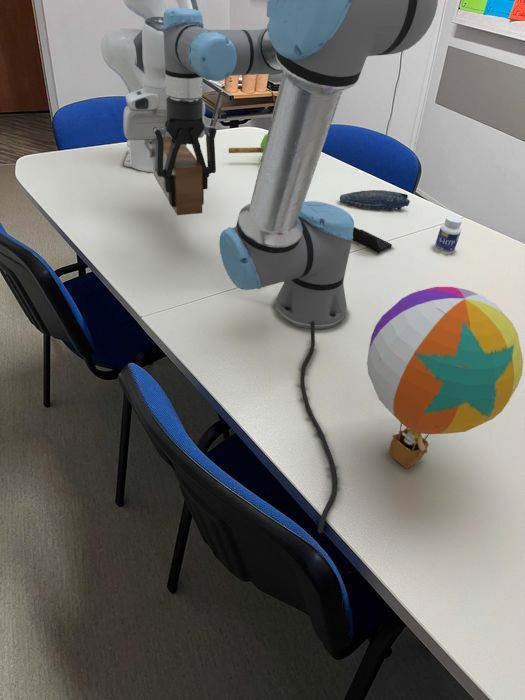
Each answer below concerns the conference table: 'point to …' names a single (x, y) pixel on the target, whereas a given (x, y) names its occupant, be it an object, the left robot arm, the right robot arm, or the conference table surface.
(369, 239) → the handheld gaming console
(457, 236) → the pill bottle
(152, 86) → the left robot arm
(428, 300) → the toy
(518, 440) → the conference table surface
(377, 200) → the fish model
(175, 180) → the box
